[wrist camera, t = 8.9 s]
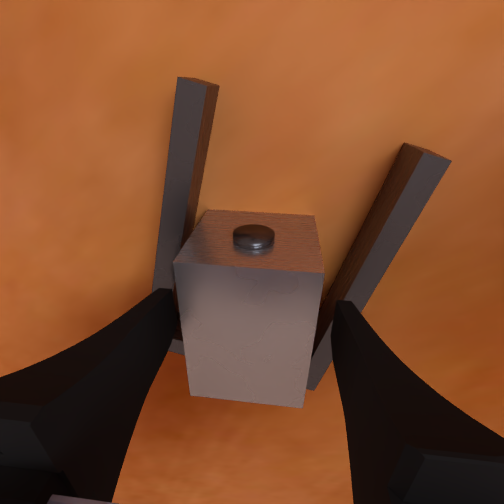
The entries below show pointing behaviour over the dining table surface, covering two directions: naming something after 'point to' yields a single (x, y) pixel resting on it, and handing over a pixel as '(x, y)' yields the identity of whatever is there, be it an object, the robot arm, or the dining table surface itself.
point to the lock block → (250, 305)
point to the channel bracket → (362, 252)
